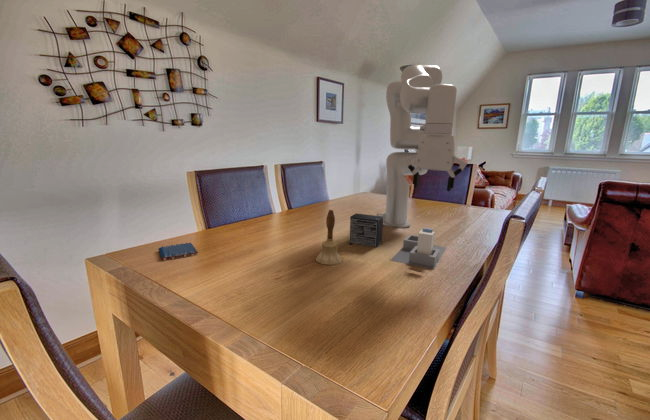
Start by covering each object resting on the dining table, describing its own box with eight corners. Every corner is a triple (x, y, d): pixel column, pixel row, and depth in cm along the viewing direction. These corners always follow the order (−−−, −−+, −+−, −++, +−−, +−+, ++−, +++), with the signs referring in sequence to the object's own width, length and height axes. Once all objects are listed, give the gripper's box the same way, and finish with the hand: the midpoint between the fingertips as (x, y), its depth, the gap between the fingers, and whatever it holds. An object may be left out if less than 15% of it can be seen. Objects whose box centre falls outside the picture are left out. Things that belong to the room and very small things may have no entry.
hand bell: (345, 257, 101) (347, 208, 97) (337, 266, 93) (339, 214, 89) (321, 253, 103) (321, 206, 100) (311, 262, 96) (312, 211, 92)
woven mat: (199, 256, 100) (198, 250, 100) (162, 263, 94) (161, 256, 94) (192, 246, 109) (192, 241, 108) (158, 252, 103) (157, 246, 102)
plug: (416, 261, 96) (418, 230, 94) (418, 257, 100) (421, 227, 97) (429, 263, 94) (432, 232, 92) (432, 259, 98) (435, 229, 96)
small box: (382, 244, 114) (384, 215, 111) (377, 249, 108) (379, 220, 106) (354, 239, 118) (356, 212, 116) (348, 244, 112) (349, 216, 110)
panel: (390, 262, 97) (390, 250, 96) (409, 242, 115) (409, 233, 115) (433, 272, 90) (435, 259, 90) (446, 249, 109) (447, 239, 108)
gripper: (405, 129, 92) (400, 187, 96) (469, 130, 84) (461, 194, 88) (412, 130, 98) (407, 184, 103) (472, 131, 90) (464, 190, 94)
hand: (432, 188), depth 95 cm, fingers open, 9 cm apart
